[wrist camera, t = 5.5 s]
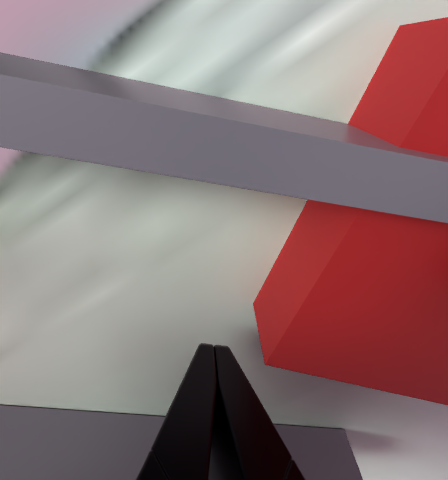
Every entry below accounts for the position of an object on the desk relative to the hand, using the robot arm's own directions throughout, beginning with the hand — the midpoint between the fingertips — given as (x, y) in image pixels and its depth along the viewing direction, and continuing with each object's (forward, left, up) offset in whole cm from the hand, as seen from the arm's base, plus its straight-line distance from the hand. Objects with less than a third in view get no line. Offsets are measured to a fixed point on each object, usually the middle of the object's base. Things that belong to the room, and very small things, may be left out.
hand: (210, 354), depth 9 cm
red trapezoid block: (+4, -5, -2) cm, 7 cm away
